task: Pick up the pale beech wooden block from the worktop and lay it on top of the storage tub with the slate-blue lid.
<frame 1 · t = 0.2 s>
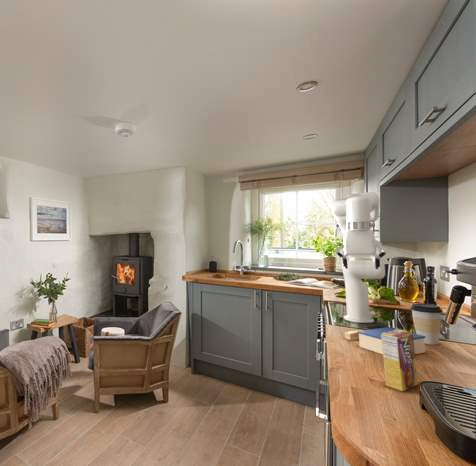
hand: (361, 268, 118), 31 cm above the countertop, tool pointing down, fingers open, 9 cm apart
candy box: (401, 385, 85), on the countertop
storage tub: (391, 349, 112), on the countertop
coffee cup: (428, 342, 119), on the countertop
wooden block: (356, 338, 126), on the countertop
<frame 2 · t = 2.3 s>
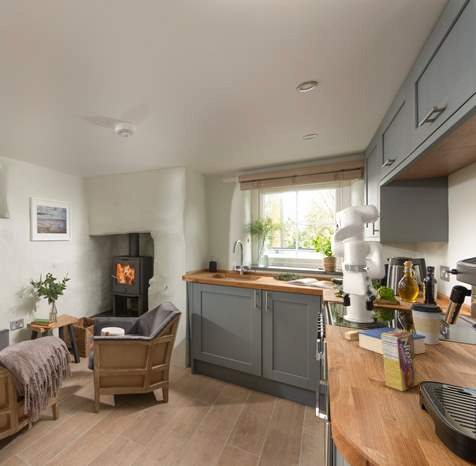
hand: (358, 308, 127), 13 cm above the countertop, tool pointing down, fingers open, 9 cm apart
nothing on the countertop moved.
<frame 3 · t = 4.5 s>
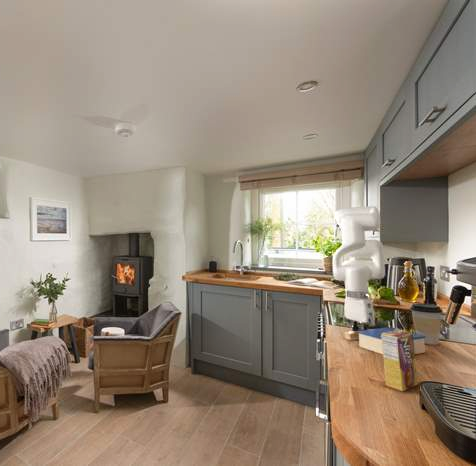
hand: (359, 336, 126), 0 cm above the countertop, tool pointing down, fingers closed on wooden block, 2 cm apart
wooden block: (356, 338, 126), on the countertop, touching gripper
everything else where it was.
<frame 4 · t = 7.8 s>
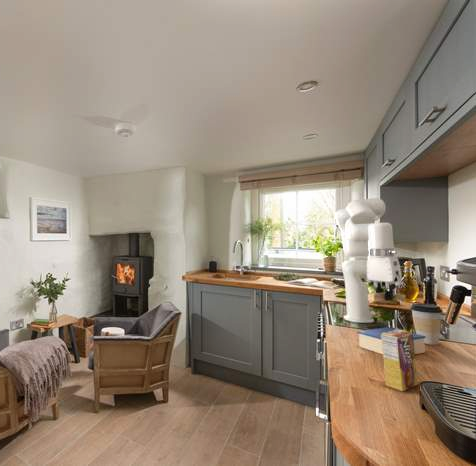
hand: (384, 298, 116), 19 cm above the countertop, tool pointing down, fingers closed on wooden block, 2 cm apart
wooden block: (380, 300, 116), point 18 cm above the countertop, touching gripper
everything else where it was.
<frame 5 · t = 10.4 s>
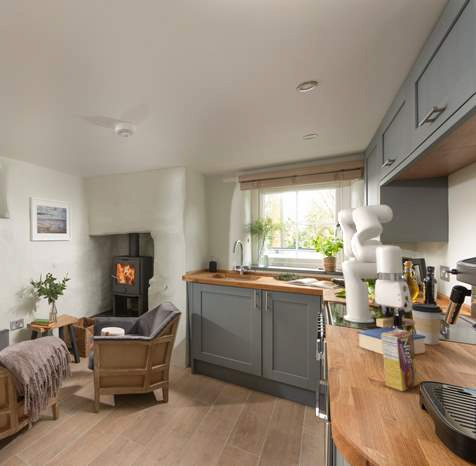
hand: (393, 324, 113), 10 cm above the countertop, tool pointing down, fingers closed on wooden block, 2 cm apart
wooden block: (389, 325, 112), point 9 cm above the countertop, touching gripper
everything else where it was.
when the fingers open (6 cm above the countertop, at t = 11.6 s): wooden block stays where it is, resting on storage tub.
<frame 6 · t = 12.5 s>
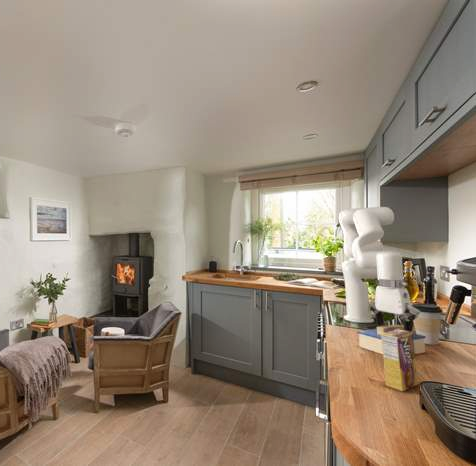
hand: (393, 327, 113), 8 cm above the countertop, tool pointing down, fingers open, 9 cm apart
wooden block: (390, 333, 112), point 6 cm above the countertop, touching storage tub
everything else where it was.
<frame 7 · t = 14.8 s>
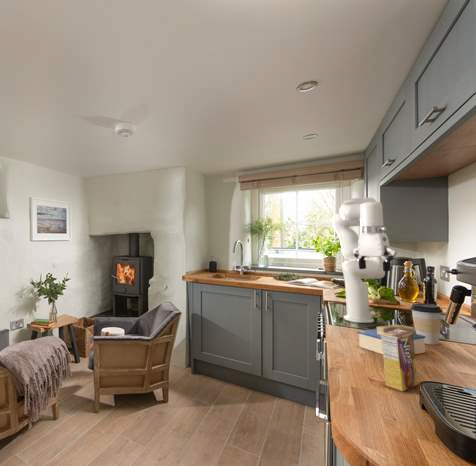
hand: (374, 269, 125), 30 cm above the countertop, tool pointing down, fingers open, 9 cm apart
nothing on the countertop moved.
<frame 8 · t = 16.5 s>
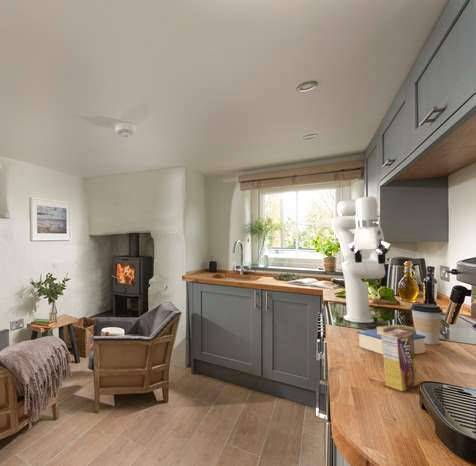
hand: (369, 263, 129), 32 cm above the countertop, tool pointing down, fingers open, 9 cm apart
nothing on the countertop moved.
at the end: wooden block inside the target area on the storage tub (0.1 cm from its centre), point 6.1 cm above the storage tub's base; the gripper is holding nothing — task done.
